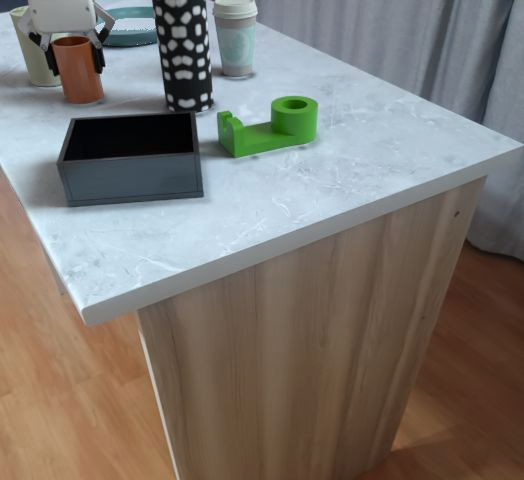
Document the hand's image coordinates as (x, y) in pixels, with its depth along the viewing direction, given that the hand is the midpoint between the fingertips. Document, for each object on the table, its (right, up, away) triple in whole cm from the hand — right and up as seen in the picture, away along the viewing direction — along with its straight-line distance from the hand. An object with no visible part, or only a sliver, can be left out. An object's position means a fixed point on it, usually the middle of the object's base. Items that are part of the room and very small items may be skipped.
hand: (78, 71), depth 91 cm
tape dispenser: (+34, -17, -11) cm, 39 cm away
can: (-8, +4, +10) cm, 14 cm away
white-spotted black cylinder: (+20, -6, 0) cm, 21 cm away
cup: (0, -3, +3) cm, 4 cm away
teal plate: (+2, +26, +32) cm, 41 cm away
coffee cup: (+28, +6, +12) cm, 31 cm away
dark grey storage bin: (+15, -25, -19) cm, 35 cm away
